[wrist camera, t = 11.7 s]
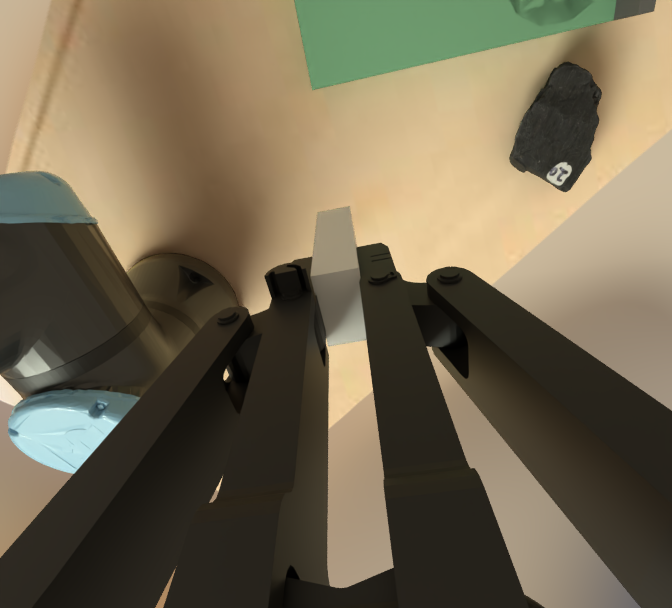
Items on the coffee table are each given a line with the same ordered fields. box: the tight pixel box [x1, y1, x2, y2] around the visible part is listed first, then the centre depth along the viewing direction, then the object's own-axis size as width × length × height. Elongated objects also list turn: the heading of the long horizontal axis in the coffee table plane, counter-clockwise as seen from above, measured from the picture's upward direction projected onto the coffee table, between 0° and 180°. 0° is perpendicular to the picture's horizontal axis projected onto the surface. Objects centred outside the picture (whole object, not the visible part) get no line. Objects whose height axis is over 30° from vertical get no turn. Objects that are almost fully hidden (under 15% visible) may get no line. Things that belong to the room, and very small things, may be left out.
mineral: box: [509, 62, 602, 192], centre depth 37 cm, size 10×9×6 cm
